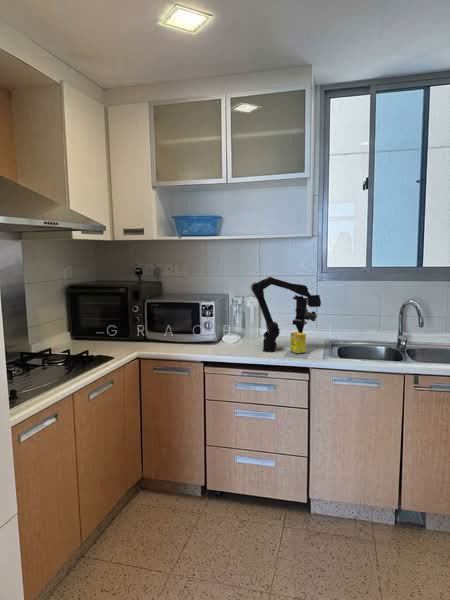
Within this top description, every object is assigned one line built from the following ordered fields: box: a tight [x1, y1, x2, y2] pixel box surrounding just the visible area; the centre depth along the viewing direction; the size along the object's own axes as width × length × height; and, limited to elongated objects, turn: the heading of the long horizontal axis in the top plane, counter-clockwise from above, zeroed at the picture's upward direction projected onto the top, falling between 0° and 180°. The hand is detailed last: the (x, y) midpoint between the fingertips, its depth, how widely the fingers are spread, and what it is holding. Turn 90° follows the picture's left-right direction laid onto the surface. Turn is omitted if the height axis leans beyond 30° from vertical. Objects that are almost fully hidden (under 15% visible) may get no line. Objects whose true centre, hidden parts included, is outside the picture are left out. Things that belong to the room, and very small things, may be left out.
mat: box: [283, 350, 310, 359], centre depth 219 cm, size 12×12×1 cm
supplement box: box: [289, 331, 307, 355], centre depth 221 cm, size 6×6×11 cm
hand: (300, 334), depth 229 cm, fingers closed
